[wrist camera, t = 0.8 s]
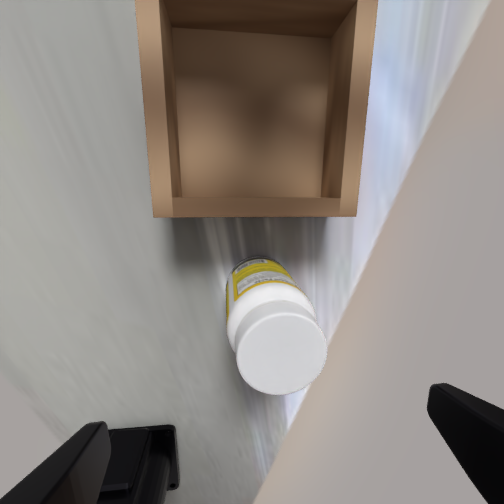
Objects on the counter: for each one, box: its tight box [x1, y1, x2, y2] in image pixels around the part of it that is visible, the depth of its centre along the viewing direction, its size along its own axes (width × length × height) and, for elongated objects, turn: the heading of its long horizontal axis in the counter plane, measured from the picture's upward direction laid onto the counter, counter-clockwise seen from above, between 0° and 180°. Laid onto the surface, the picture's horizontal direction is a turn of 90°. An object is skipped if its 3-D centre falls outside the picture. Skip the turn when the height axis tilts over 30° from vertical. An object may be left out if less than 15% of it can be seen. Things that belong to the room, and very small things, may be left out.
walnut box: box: [135, 0, 378, 217], centre depth 14 cm, size 11×11×4 cm
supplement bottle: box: [226, 257, 327, 395], centre depth 15 cm, size 5×5×8 cm
